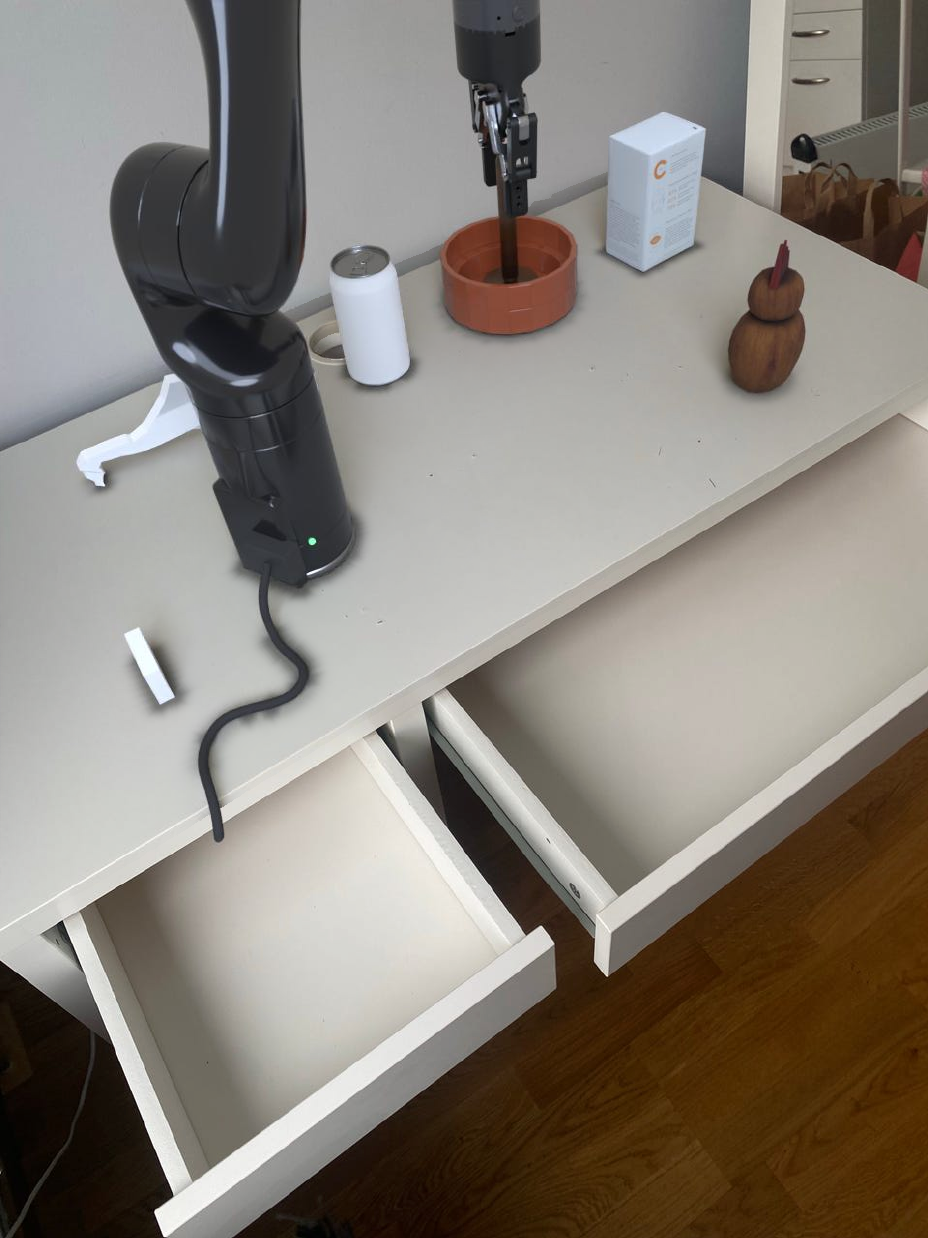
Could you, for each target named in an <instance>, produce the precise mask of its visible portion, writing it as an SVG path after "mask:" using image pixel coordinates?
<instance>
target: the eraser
mask: <svg viewBox="0 0 928 1238" xmlns="http://www.w3.org/2000/svg"><path fill="white" fill-rule="evenodd" d="M123 636H124V638H125V640H126V643H127V644H128V646H129V649H130V650H131V653H132V655H133V657H134V659H135V662H136V663H137V665H138V668H139V669H140V672H141V674H142V676H143V678H144V680H145V681H146V683H147V685H148V686H149V688H150V690H151V692H152V693H153V695H154V696H155V698H156V700H157V702H158V703H159V705H163V704H164V703H167V702H168V701H170V700H173V699H174V698H176V696H175V694H174V692H173V690H172V688H171V686H170V684H169V682H168V680H167V678H166V676H165V674H164V672H163V670H162V667H161V666H160V663H159V661H158V659H157V658H156V655H155V654H154V652H153V650H152V648H151V646H150V644H149V642H148V641H147V639H146V637H145V636H144V634H143V632H142V630H141V628H140V627H136V628H134V629H132V630H130V631H128V632H125V633H124V634H123Z"/></svg>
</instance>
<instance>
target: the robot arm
mask: <svg viewBox="0 0 928 1238" xmlns="http://www.w3.org/2000/svg"><path fill="white" fill-rule="evenodd" d="M184 2H185V5H186V9H187V10H188V12H189V16H190V18H191V21H192V23H193V27H194V31H195V32H196V36H197V39H198V42H199V46H200V50H201V51H200V52H201V57H202V61H203V68H204V74H205V81H206V83H205V84H206V97H207V110H208V111H207V114H208V148H206V147H201V146H195V145H191V144H190V145H189V144H185V143H180V142H179V143H178V142H170V141H156V142H150V143H145V144H144V145H141V146H139V147H138V148H136V149H133V151H132V152H130V153H129V154H128V155H127V156H126V157H125V158H124V159H123V161H122V162H121V164H120V165H119V167H118V169H117V171H116V173H115V176H114V177H113V181H112V184H111V189H110V197H109V206H108V207H109V209H108V211H109V225H110V232H111V237H112V242H113V246H114V250H115V255H116V257H117V261H118V263H119V265H120V268H121V270H122V273H123V276H124V278H125V281H126V283H127V285H128V287H129V290H130V293H131V294H132V296H133V298H134V301H135V303H136V305H137V308H138V309H139V312H140V314H141V316H142V319H143V321H144V323H145V325H146V327H147V330H148V331H149V334H150V336H151V338H152V340H153V343H154V345H155V347H156V349H157V351H158V352H159V353H158V354H159V355H160V357H161V359H162V360H163V362H164V364H165V365H166V366H167V368H168V369H169V370H170V371H171V372H172V374H175V375H176V376H177V377H178V378H179V379H180V380H181V381H182V383H183V384H184V386H185V388H186V390H187V393H188V395H189V398H190V400H191V403H192V405H193V408H194V411H195V413H196V416H197V419H198V421H199V424H200V427H201V433H202V435H203V437H204V441H205V442H206V445H207V448H208V450H209V454H210V456H211V458H212V461H213V464H214V467H215V469H216V473H217V474H218V478H217V479H216V480H215V481H214V482H213V484H212V485H211V487H212V491H213V494H214V497H215V499H216V502H217V504H218V506H219V509H220V511H221V514H222V516H223V519H224V522H225V524H226V527H227V529H228V532H229V534H230V537H231V541H232V542H233V545H234V548H235V550H236V552H237V555H238V557H239V560H240V562H241V565H242V568H244V569H247V570H249V571H252V572H254V573H257V574H259V575H260V578H259V586H258V608H259V613H260V617H261V621H262V623H263V625H264V627H265V630H266V632H267V635H268V636H269V638H270V640H271V642H272V643H273V645H274V646H275V648H276V649H277V650H278V651H279V652H280V653H281V654H282V655H283V656H284V657H285V658H287V659H288V660H289V661H290V662H292V664H294V666H295V667H296V668H297V671H298V678H297V679H296V682H295V683H294V685H293V686H292V687H291V688H290V689H289V690H287V691H286V692H284V693H282V694H279V695H277V696H274V697H271V698H267V699H264V700H259V701H256V702H252V703H248V704H245V705H241V706H238V707H235V708H232V709H230V710H229V711H227V712H224V713H223V714H222V715H220V716H219V717H217V718H216V719H215V720H214V721H213V722H212V724H211V725H210V726H209V727H208V729H207V731H206V732H205V733H204V735H203V738H202V740H201V743H200V746H199V749H198V755H197V765H198V766H197V767H198V773H199V777H200V781H201V785H202V788H203V791H204V792H203V793H204V794H205V798H206V802H207V806H208V810H209V815H210V821H211V827H212V834H213V840H214V842H215V843H221V842H223V840H224V839H225V829H224V827H225V826H224V822H223V821H224V820H223V816H222V815H223V814H222V810H221V806H220V800H219V798H218V793H217V791H216V787H215V785H214V780H213V778H212V773H211V770H210V763H209V755H210V750H211V746H212V745H213V741H214V740H215V739H216V736H217V734H218V733H219V732H220V731H221V730H222V729H223V727H225V726H226V725H227V724H228V723H230V722H232V721H234V720H236V719H239V718H241V717H244V716H248V715H251V714H254V713H258V712H263V711H267V710H271V709H274V708H278V707H281V706H283V705H285V704H288V703H289V702H291V701H293V700H294V699H296V698H297V697H298V696H299V695H300V694H301V693H303V690H304V689H305V687H306V685H307V683H308V679H309V668H308V665H307V664H306V662H305V660H304V659H303V658H302V657H301V656H300V655H299V654H297V652H295V651H294V649H292V648H291V647H290V646H288V645H287V643H285V641H283V638H282V637H281V636H280V634H279V632H278V631H277V628H276V626H275V624H274V621H273V619H272V617H271V613H270V607H269V585H270V579H271V580H273V581H278V582H280V583H282V584H286V585H287V586H290V587H293V588H295V589H302V588H303V587H304V586H305V585H306V583H308V582H309V581H310V580H313V579H317V578H319V577H322V576H324V575H327V574H328V573H329V572H331V571H334V569H336V568H337V567H339V566H340V565H341V564H342V563H343V562H345V560H346V559H347V558H348V557H349V555H350V554H351V552H352V550H353V547H354V545H355V541H356V529H355V526H354V521H353V519H352V517H351V514H350V510H349V505H348V501H347V497H346V493H345V489H344V485H343V482H342V477H341V473H340V470H339V466H338V462H337V457H336V453H335V449H334V445H333V442H332V437H331V433H330V429H329V424H328V421H327V416H326V413H325V409H324V405H323V400H322V396H321V392H320V388H319V384H318V380H317V376H316V375H317V374H316V372H315V368H314V367H315V366H314V363H313V359H312V354H311V351H310V347H309V343H308V341H307V337H306V336H305V334H304V332H303V330H302V328H301V327H300V326H299V325H298V324H297V322H295V321H294V320H293V319H292V318H291V317H289V316H288V315H287V314H285V313H284V312H282V311H281V310H280V309H281V308H282V307H284V306H285V305H286V303H287V302H288V301H289V299H290V297H291V296H292V294H293V293H294V290H295V288H296V286H297V283H298V281H299V278H300V274H301V270H302V266H303V262H304V258H305V250H306V242H307V241H306V240H307V239H306V238H307V221H308V218H307V217H308V203H307V174H306V173H307V171H306V152H305V150H306V149H305V131H304V130H305V129H304V109H303V108H304V106H303V86H302V0H184ZM451 6H452V16H453V18H452V19H453V30H454V42H455V55H456V67H457V71H458V73H459V74H460V76H462V78H464V79H465V80H466V81H467V82H468V92H469V104H470V113H471V129H472V130H473V133H474V134H477V143H478V145H479V147H480V148H481V158H482V175H483V176H482V177H483V182H484V184H485V185H486V186H487V187H488V188H491V187H497V182H496V164H495V159H496V156H497V155H498V156H499V158H500V164H501V169H502V177H503V192H504V211H505V214H506V215H507V217H508V218H515V217H519V216H523V215H528V212H529V192H528V190H529V189H528V180H534V179H537V176H538V175H537V173H538V170H537V169H538V121H539V120H538V117H537V113H536V112H529V103H528V96H527V94H526V92H524V88H523V84H524V83H523V82H524V81H525V80H526V79H527V78H528V77H529V76H532V75H533V74H534V73H536V71H537V70H538V69H539V67H541V66H540V65H541V62H542V40H541V37H542V35H541V0H451ZM505 142H506V143H505ZM518 160H520V163H519V164H517V161H518Z"/></svg>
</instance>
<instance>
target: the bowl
mask: <svg viewBox="0 0 928 1238" xmlns="http://www.w3.org/2000/svg"><path fill="white" fill-rule="evenodd" d="M516 222H517V246H518V266H523V267H526V268H529V269H531V270H533V271H534V272H535V273H536V274H537V276H538V278H537V279H535V280H532V281H529V282H522V283H515V284H486V283H483V279H484V277H485V276H486V275H487V274H488V273H489V272H491V271H492V270H494V269H497V268H500V267H501V253H500V235H499V217H498V216H490V217H486V218H483V219H480V220H476V221H474V222H471V223H468V224H467V225H464V226H462V227H461V228H458V229H457V230H456V231H453V233H452V234H451V235H450V236H449V237H448V238H446V240H445V241H444V242H443V245H442V246H441V250H440V252H439V259H440V260H439V261H440V269H441V277H442V278H441V279H442V288H443V296H444V303H445V308H446V311H447V312H448V313H449V314H450V316H451V318H453V319H454V320H455V321H456V322H458V323H459V324H461V325H463V326H464V327H466V328H468V329H471V330H474V331H477V332H478V331H479V332H483V333H486V334H495V335H496V334H497V335H498V334H499V335H514V334H522V333H529V332H533V331H536V330H538V329H539V330H540V329H542V328H544V327H547V326H550V325H552V324H554V323H555V322H557V321H558V320H561V318H564V317H565V316H566V315H567V314H568V313H569V311H570V310H571V309H572V307H573V306H574V305H575V304H576V300H577V294H578V249H579V248H578V243H577V241H576V237H575V235H574V234H573V232H571V231H570V230H569V229H568V228H566V227H565V226H564V225H563V224H561V223H558V222H556V221H554V220H551V219H549V218H547V217H546V218H545V217H540V216H534V215H528V214H526V215H523V216H519V217H516Z"/></svg>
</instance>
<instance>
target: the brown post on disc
mask: <svg viewBox="0 0 928 1238" xmlns="http://www.w3.org/2000/svg"><path fill="white" fill-rule="evenodd" d="M495 164H496V182H497V185H496V196H497V200H496V201H497V215H498V217H499V235H500V253H501V267H500V268H497V269H494V270H492V271H491V272H489V273H488V274H487V275H486V276H485V277H484V279H483V283H486V284H515V283H522V282H529V281H532V280H535V279H537V278H538V276H537V274H536V273H535V272H534V271H533V270H531V269H529V268H526V267H523V266H518V246H517V222H516V217H515V218H508V217H507V215H506V214H505V211H504V192H503V177H502V169H501V164H500V158H499V156H498V155H497V156H496V159H495Z"/></svg>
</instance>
